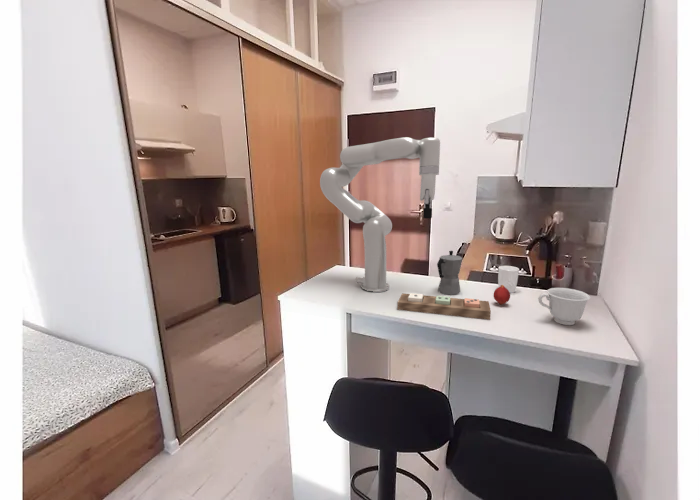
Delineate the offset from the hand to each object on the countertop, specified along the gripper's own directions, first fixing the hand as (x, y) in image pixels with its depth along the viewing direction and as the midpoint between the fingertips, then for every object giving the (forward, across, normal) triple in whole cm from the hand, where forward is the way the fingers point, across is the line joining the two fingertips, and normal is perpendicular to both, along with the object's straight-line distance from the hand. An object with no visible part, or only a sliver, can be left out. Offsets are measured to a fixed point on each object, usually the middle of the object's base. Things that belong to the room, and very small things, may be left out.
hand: (427, 218), depth 132 cm
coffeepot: (+32, -5, +9) cm, 34 cm away
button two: (+31, +15, +8) cm, 35 cm away
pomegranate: (+32, +4, +29) cm, 44 cm away
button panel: (+32, +15, +8) cm, 36 cm away
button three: (+31, +15, +18) cm, 39 cm away
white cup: (+32, -14, +33) cm, 48 cm away
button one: (+31, +15, -2) cm, 35 cm away
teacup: (+32, +15, +46) cm, 58 cm away
